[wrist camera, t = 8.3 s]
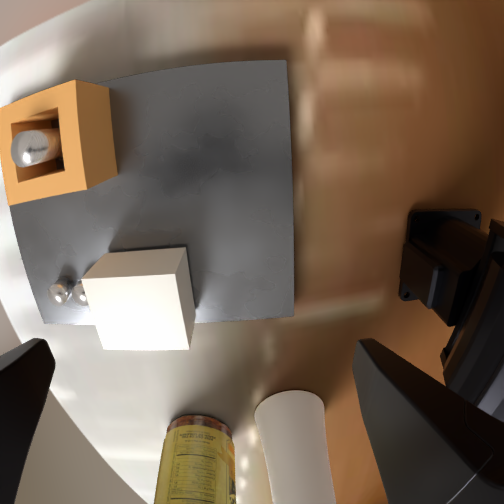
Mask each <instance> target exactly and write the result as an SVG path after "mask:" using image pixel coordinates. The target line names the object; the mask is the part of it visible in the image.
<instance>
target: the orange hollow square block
mask: <svg viewBox="0 0 504 504" xmlns="http://www.w3.org/2000/svg"><path fill="white" fill-rule="evenodd" d="M55 119H59V125H60V135H61V144H62V152H63V160H64V167H65V168H63V169H58V170H57V167H56V160H55V159H53V160H49V161H46V162H42V163H38V164H34V165H31V166H27V167H19V166H17V165H16V164H15V163H14V162H13V160H12V157H11V144H12V141H13V139H14V137H15V136H16V135H17V134H18V133H20V132H22V131H31V130H41V129H52V125H51V121H52V120H55ZM0 158H1V165H2V172H3V178H4V184H5V190H6V195H7V201H8V205H9V206H10V205H14V204H18V203H23V202H27V201H32V200H36V199H41V198H46V197H50V196H55V195H60V194H65V193H71V192H76V191H81V190H87V189H89V188H91V187H93V186H95V185H98V184H100V183H102V182H104V181H106V180H108V179H111V178H113V177H115V176H117V175H118V172H117V165H116V157H115V149H114V140H113V131H112V121H111V109H110V96H109V88H108V87H105V86H101V85H97V84H93V83H89V82H84V81H80V80H76V79H75V80H72V81H69V82H66V83H63V84H60V85H57V86H54V87H51V88H48V89H46V90H43V91H40V92H38V93H35V94H33V95H30V96H28V97H25V98H23V99H20V100H18V101H15V102H13V103H11V104H9V105H6V106H4V107H2V108H0Z"/></svg>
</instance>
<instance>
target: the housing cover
mask: <svg viewBox="0 0 504 504" xmlns="http://www.w3.org/2000/svg"><path fill="white" fill-rule="evenodd" d="M81 281H82V284H83V288H84V291H85V295H86V298H87V301H88V304H89V307H90V311H91V314H92V317H93V320H94V323H95V326H96V329H97V331H98V334H99V337H100V340H101V343H102V345H103V348H104V349H109V350H190V344H191V339H192V334H193V328H194V323H195V318H196V311H195V305H194V299H193V293H192V286H191V280H190V273H189V267H188V260H187V253H186V247H183V248H169V249H156V250H143V251H130V252H117V253H105V254H104V255H103V256H102V257H101V258H100V259H99V260H98V261H97V262H96V263H95V264H94V265H93V266H92V267H91V269H90V270H89V271H88V272H87V273H86V274H85V275H84V276H83V277H82V279H81Z"/></svg>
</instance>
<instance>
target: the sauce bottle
mask: <svg viewBox="0 0 504 504" xmlns="http://www.w3.org/2000/svg"><path fill="white" fill-rule="evenodd" d="M154 504H236V487H235V454H234V444H233V442H232V434H231V431H230V430H229V428H228V427H227V426H226V425H225V424H223V423H221V422H220V421H218V420H216V419H214V418H210V417H207V416H202V415H186V416H184V415H183V416H182V417H180V418H178V419H176V420H175V421H173V422H172V423H171V424H170V425H169V426H168V428H167V434H166V438H165V439H164V443H163V449H162V454H161V460H160V466H159V472H158V478H157V485H156V492H155V499H154Z"/></svg>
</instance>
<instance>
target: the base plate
mask: <svg viewBox="0 0 504 504" xmlns="http://www.w3.org/2000/svg"><path fill="white" fill-rule="evenodd" d="M97 85H101V86H105V87H108V88H109V96H110V109H111V121H112V131H113V140H114V149H115V157H116V165H117V172H118V175H117V176H115V177H113V178H111V179H108V180H106V181H104V182H102V183H100V184H98V185H95V186H93V187H91V188H89V189H87V190H81V191H76V192H71V193H65V194H60V195H55V196H50V197H46V198H41V199H36V200H32V201H27V202H23V203H18V204H14V205H10V206H9V207H10V212H11V217H12V221H13V225H14V230H15V234H16V238H17V242H18V246H19V249H20V253H21V257H22V260H23V264H24V267H25V270H26V274H27V277H28V280H29V283H30V286H31V289H32V292H33V295H34V298H35V300H36V303H37V306H38V309H39V311H40V314H41V317H42V319H43V322H44V324H79V325H95V323H94V320H93V317H92V314H91V311H90V307H89V304H88V301H87V298H86V295H85V291H84V288H83V284H82V281H81V279H82V277H83V276H84V275H85V274H86V273H87V272H88V271H89V270H90V269H91V267H92V266H93V265H94V264H95V263H96V262H97V261H98V260H99V259H100V258H101V257H102V256H103V255H104V254H105V253H117V252H130V251H143V250H156V249H169V248H183V247H186V253H187V260H188V267H189V273H190V280H191V286H192V293H193V299H194V305H195V311H196V318H195V323H205V322H224V321H240V320H255V319H268V318H280V317H292V316H294V226H293V184H292V156H291V132H290V112H289V95H288V79H287V64H286V60H257V61H237V62H223V63H212V64H202V65H193V66H185V67H178V68H171V69H164V70H158V71H152V72H147V73H141V74H136V75H131V76H126V77H122V78H117V79H113V80H109V81H105V82H100V83H97ZM51 125H52V129H41V130H31V131H22V132H20V133H18V134H17V135H16V136H15V137H14V139H13V141H12V144H11V157H12V160H13V162H14V163H15V164H16V165H17V166H19V167H27V166H31V165H34V164H38V163H42V162H46V161H49V160H53V159H55V160H56V167H57V170H58V169H63V168H65V167H64V160H63V152H62V144H61V135H60V125H59V119H55V120H52V121H51Z"/></svg>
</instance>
